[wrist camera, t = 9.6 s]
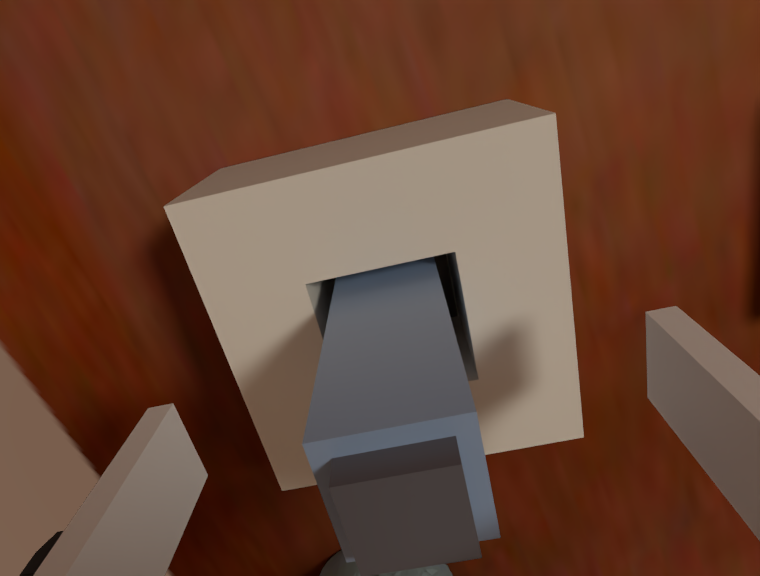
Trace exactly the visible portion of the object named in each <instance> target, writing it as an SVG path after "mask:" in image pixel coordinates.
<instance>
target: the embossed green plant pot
mask: <svg viewBox="0 0 760 576" xmlns="http://www.w3.org/2000/svg"><path fill="white" fill-rule="evenodd" d="M320 576H361V575H360V572H359V570H358V567H357V564H356V562H355V561H354V562H348V563H347V562H346V560H345V557H344V554H343V552H342V550H341V551H339V552H337V553H336V554H335V555H334V556H332V557H331V558H330V559H329V561H328V562H327V563H326V564H325V566H324V567H323V569H322V571H321V573H320ZM371 576H453V575H452V573H451V571H450V570H449V567H448V566H447V565H446V564H440V565H434V566H427V567H421V568H415V569H409V570H402V571H396V572H390V573H384V574H377V575H371Z"/></svg>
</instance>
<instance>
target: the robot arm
mask: <svg viewBox="0 0 760 576" xmlns="http://www.w3.org/2000/svg"><path fill="white" fill-rule="evenodd" d="M646 347H647V390H648V399H649V400H650V401H651V403H652V404H653V405H654V406H655V408H656V409H657V410H658V411H659V413H660V414H661V415H662V417H663V418H664V419H665V420H666V422H667V423H668V424H669V426H670V427H671V428H672V429H673V431H674V432H675V433H676V434H677V436H678V437H679V438H680V440H681V441H682V442H683V443H684V445H685V446H686V447H687V449H688V450H689V451H690V452H691V454H692V455H693V456H694V457H695V459H696V460H697V461H698V463H699V464H700V465H701V466H702V468H703V469H704V470H705V472H706V473H707V474H708V475H709V477H710V478H711V479H712V481H713V482H714V483H715V484H716V486H717V487H718V488H719V489H720V491H721V492H722V493H723V495H724V496H725V497H726V498H727V500H728V501H729V502H730V504H731V505H732V506H733V507H734V509H735V510H736V511H737V512H738V514H739V515H740V516H741V518H742V519H743V520H744V521H745V523H746V524H747V525H748V527H749V528H750V529H751V530H752V532H753V533H754V534H755V535H756V537H757V538H758V539H759V541H760V376H759V375H758V374H757V373H756V372H754V371H753V370H752V369H751V368H750V367H749V366H747V365H746V364H745V363H744V362H743V361H741V360H740V359H739V358H738V357H737V356H735V355H734V354H733V353H732V352H731V351H729V350H728V349H727V348H726V347H725V346H723V345H722V344H721V343H720V342H719V341H717V340H716V339H715V338H714V337H713V336H711V335H710V334H709V333H708V332H707V331H706V330H704V329H703V328H702V327H701V326H700V325H698V324H697V323H696V322H695V321H694V320H692V319H691V318H690V317H689V316H688V315H686V314H685V313H684V312H683V311H682V310H680V309H679V308H678V307H677V306H674V307H668V308H663V309H658V310H653V311H648V312H646ZM207 476H208V474H207V472H206V470H205V468H204V466H203V464H202V462H201V460H200V458H199V456H198V454H197V452H196V450H195V448H194V445H193V443H192V441H191V439H190V437H189V435H188V433H187V431H186V429H185V427H184V425H183V423H182V421H181V419H180V417H179V415H178V412H177V410H176V408H175V406H174V404H173V403H172V404H167V405H162V406H157V407H152V408H148V409H147V411H146V412H145V414H144V415H143V416H142V418H141V419H140V421H139V422H138V424H137V425H136V427H135V428H134V430H133V431H132V432H131V434H130V435H129V437H128V438H127V440H126V441H125V443H124V444H123V446H122V447H121V448H120V450H119V451H118V453H117V454H116V456H115V457H114V459H113V460H112V462H111V463H110V465H109V466H108V467H107V469H106V470H105V472H104V473H103V475H102V476H101V478H100V479H99V481H98V482H97V483H96V485H95V486H94V488H93V489H92V491H91V492H90V494H89V495H88V497H87V498H86V500H85V501H84V502H83V504H82V505H81V507H80V508H79V510H78V511H77V513H76V514H75V516H74V517H73V519H72V520H71V521H70V523H69V524H68V526H67V527H66V529H65V530H64V531H60V532H57V533H56V534H55V535H54V536H53V537H52V538H51V539H50V540H48V541H47V542H46V543H45V544H44V545H43V546H42V547H41V548H40V549H39V550H38V551H37V552H36V553H35V555H34V556H33V557H32V559H31V560H30V561H29V563H28V564H27V566H26V567H25V568H24V570H23V571H22V573H21V574H20V576H165V574H166V572H167V570H168V567H169V565H170V563H171V560H172V558H173V556H174V553H175V551H176V549H177V546H178V544H179V542H180V539H181V537H182V535H183V532H184V530H185V528H186V525H187V523H188V521H189V518H190V516H191V514H192V511H193V509H194V507H195V504H196V502H197V500H198V497H199V495H200V493H201V490H202V488H203V486H204V483H205V481H206V479H207Z"/></svg>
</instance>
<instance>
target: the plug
mask: <svg viewBox="0 0 760 576" xmlns="http://www.w3.org/2000/svg"><path fill="white" fill-rule="evenodd" d="M302 445H303V448H304V451H305V453H306V456H307V458H308V461H309V464H310V466H311V469H312V472H313V474H314V477H315V480H316V482H317V485H318V488H319V490H320V493H321V496H322V498H323V501H324V504H325V506H326V509H327V512H328V514H329V517H330V520H331V522H332V525H333V528H334V530H335V533H336V536H337V538H338V541H339V544H340V546H341V549H342V552H343V554H344V557H345V560H346V562H347V563H348V562H354V561H355V562H356V564H357V567H358V570H359V572H360V575H361V576H371V575H377V574H384V573H390V572H396V571H402V570H409V569H415V568H421V567H427V566H434V565H440V564H446V563H453V562H459V561H465V560H471V559H478V558H482V555H481V550H480V546H479V541H483V540H489V539H495V538H501V537H500V531H499V526H498V521H497V516H496V511H495V505H494V500H493V495H492V490H491V484H490V479H489V474H488V469H487V463H486V458H485V453H484V448H483V443H482V437H481V432H480V427H479V422H478V416H477V411H476V408H475V404H474V400H473V397H472V393H471V390H470V386H469V382H468V379H467V375H466V372H465V368H464V364H463V361H462V357H461V353H460V350H459V346H458V343H457V339H456V335H455V332H454V328H453V325H452V321H451V317H450V314H449V310H448V306H447V303H446V299H445V296H444V292H443V288H442V285H441V281H440V278H439V274H438V270H437V267H436V263H435V259H434V256H433V257H428V258H424V259H419V260H415V261H410V262H405V263H401V264H396V265H392V266H387V267H382V268H378V269H373V270H368V271H364V272H359V273H355V274H350V275H345V276H341V277H336V280H335V285H334V290H333V295H332V300H331V305H330V309H329V314H328V319H327V324H326V329H325V334H324V339H323V344H322V349H321V354H320V359H319V364H318V368H317V373H316V378H315V383H314V388H313V393H312V398H311V403H310V408H309V413H308V418H307V423H306V427H305V432H304V437H303V442H302Z"/></svg>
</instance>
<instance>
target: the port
mask: <svg viewBox="0 0 760 576" xmlns="http://www.w3.org/2000/svg"><path fill="white" fill-rule="evenodd" d="M163 207H164V209H165V211H166V214H167V216H168V219H169V221H170V223H171V226H172V228H173V231H174V233H175V235H176V238H177V240H178V243H179V245H180V247H181V250H182V252H183V255H184V257H185V259H186V262H187V264H188V267H189V269H190V271H191V274H192V276H193V279H194V281H195V283H196V286H197V288H198V291H199V293H200V295H201V298H202V300H203V303H204V305H205V307H206V310H207V312H208V315H209V317H210V319H211V322H212V324H213V327H214V329H215V331H216V334H217V336H218V339H219V341H220V343H221V346H222V348H223V351H224V353H225V355H226V358H227V360H228V363H229V365H230V367H231V370H232V372H233V375H234V377H235V379H236V382H237V384H238V387H239V389H240V391H241V394H242V396H243V399H244V401H245V403H246V406H247V408H248V411H249V413H250V415H251V418H252V420H253V423H254V425H255V427H256V430H257V432H258V435H259V437H260V439H261V442H262V444H263V447H264V449H265V451H266V454H267V456H268V459H269V461H270V463H271V466H272V468H273V471H274V473H275V475H276V478H277V480H278V483H279V485H280V487H281V490H282V491H285V490H291V489H296V488H302V487H307V486H313V485H317V482H316V480H315V477H314V474H313V472H312V469H311V466H310V464H309V461H308V458H307V456H306V453H305V451H304V448H303V445H302V442H303V437H304V432H305V427H306V423H307V418H308V413H309V408H310V403H311V398H312V393H313V388H314V383H315V378H316V373H317V368H318V364H319V359H320V354H321V349H322V344H323V339H324V334H325V329H326V324H327V319H328V314H329V309H330V305H331V300H332V295H333V290H334V285H335V280H336V277H341V276H345V275H350V274H355V273H359V272H364V271H368V270H373V269H378V268H382V267H387V266H392V265H396V264H401V263H405V262H410V261H415V260H419V259H424V258H428V257H433V256H434V259H435V263H436V267H437V270H438V274H439V278H440V281H441V285H442V288H443V292H444V296H445V299H446V303H447V306H448V310H449V314H450V317H451V321H452V325H453V328H454V332H455V335H456V339H457V343H458V346H459V350H460V353H461V357H462V361H463V364H464V368H465V372H466V375H467V379H468V382H469V386H470V390H471V393H472V397H473V400H474V404H475V408H476V411H477V416H478V422H479V427H480V432H481V437H482V443H483V448H484V453H485V455H487V454H492V453H498V452H504V451H509V450H515V449H520V448H526V447H532V446H537V445H543V444H549V443H554V442H560V441H565V440H571V439H577V438H582V437H584V433H583V421H582V410H581V398H580V387H579V376H578V364H577V353H576V341H575V330H574V318H573V307H572V295H571V284H570V272H569V261H568V249H567V238H566V226H565V215H564V203H563V192H562V180H561V169H560V158H559V146H558V135H557V123H556V113H554V112H550V111H547V110H543V109H540V108H536V107H533V106H530V105H526V104H523V103H519V102H516V101H512V100H509V99H506V100H501V101H497V102H493V103H489V104H485V105H481V106H477V107H473V108H468V109H464V110H460V111H456V112H452V113H448V114H444V115H440V116H435V117H431V118H427V119H423V120H419V121H415V122H411V123H407V124H403V125H398V126H394V127H390V128H386V129H382V130H378V131H374V132H370V133H365V134H361V135H357V136H353V137H349V138H345V139H341V140H337V141H333V142H328V143H324V144H320V145H316V146H312V147H308V148H304V149H300V150H295V151H291V152H287V153H283V154H279V155H275V156H271V157H267V158H262V159H258V160H254V161H250V162H246V163H242V164H238V165H234V166H230V167H225V168H221V169H219V170H217V171H216V172H214V173H213V174H211V175H210V176H208V177H207V178H205V179H204V180H202V181H201V182H199V183H198V184H196V185H195V186H193V187H192V188H190V189H189V190H187V191H186V192H184V193H183V194H181V195H180V196H178V197H177V198H175V199H174V200H172V201H171V202H169V203H168V204H166V205H165V206H163Z"/></svg>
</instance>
